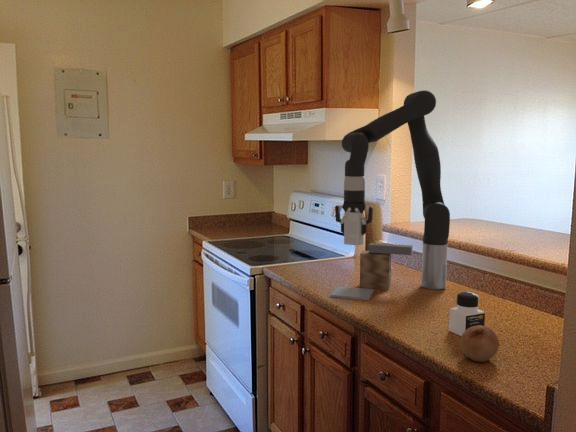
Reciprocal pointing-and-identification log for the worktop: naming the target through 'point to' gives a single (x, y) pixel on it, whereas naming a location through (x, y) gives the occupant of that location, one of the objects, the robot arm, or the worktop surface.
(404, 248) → the bar
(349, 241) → the skincare box
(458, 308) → the medicine bottle
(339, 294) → the slate pad
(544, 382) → the worktop surface
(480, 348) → the onion
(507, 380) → the worktop surface
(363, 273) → the walnut block
